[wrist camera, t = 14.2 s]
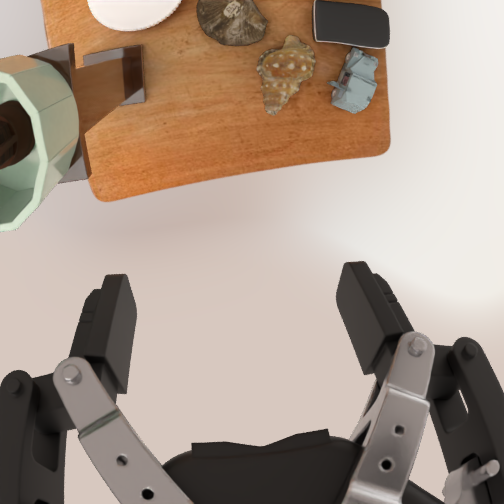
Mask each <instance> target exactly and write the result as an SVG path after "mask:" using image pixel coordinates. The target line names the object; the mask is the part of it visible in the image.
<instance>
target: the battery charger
mask: <svg viewBox="0 0 504 504" xmlns="http://www.w3.org/2000/svg"><path fill="white" fill-rule="evenodd" d="M312 33H313V39H314V40H315V41H317V42H332V43H340V44H346V45H352V46H355V47H362V48H371V49H382V48H385V47H387V45H388V44H389V39H390V27H389V17H388V15H387V13H386V12H385V11H384V10H382V9H380V8H377V7H372V6H367V5H361V4H353V3H342V2H332V1H323V0H315V1H314V3H313V6H312Z"/></svg>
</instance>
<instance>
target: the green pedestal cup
mask: <svg viewBox="0 0 504 504" xmlns="http://www.w3.org/2000/svg"><path fill="white" fill-rule="evenodd" d="M83 60H84V65H83V66H79V67H76V66H75V53H74V43H68V44H64V45H61V46H58V47H54V48H51V49H48V50H45V51H42V52H39V53H36V54H33V55H30V56H27V57H26V56H23V55H15V56H10V57H6V58H2V59H0V104H2V103H4V102H6V101H11V100H14V101H19V102H20V104H21V105H22V106H23V108H24V109H25V110H26V112H27V113H28V114H29V116H30V117H31V122H32V127H33V132H34V137H35V145H34V147H33V149H32V151H31V152H30V154H29V155H28V156H27V157H25V158H24V159H23V160H21V161H20V162H18V163H17V164H15V165H12V166H8V167H6V168H4V169H1V170H0V232H4V231H10V230H16V229H18V228H19V226H20V225H21V224H22V223H23V222H24V221H25V220H26V219H27V218H28V217H29V216H30V215H31V214H32V213H33V212H34V211H35V210H36V209H37V208H38V207H39V205H40V204H41V203H42V201H43V200H44V199H45V198H46V197H47V195H48V194H49V193H50V192H51V190H52V189H53V188H54V187H55V186H56V185H57V184H59V183H64V182H71V181H78V180H85V179H88V178H89V177H90V176H91V174H92V172H91V167H90V162H89V157H88V152H87V146H86V141H85V135H84V134H85V133H86V132H87V131H89V130H90V129H91V128H92V127H93V126H94V125H96V124H97V123H98V122H99V121H100V120H102V119H103V118H104V117H105V116H106V115H108V114H109V113H110V112H111V111H113V110H114V109H115V108H116V107H118V106H122V105H128V104H135V103H143V102H146V94H145V81H144V66H143V47H142V45H135V46H129V47H123V48H117V49H112V50H107V51H102V52H97V53H93V54H89V55H84V56H83Z"/></svg>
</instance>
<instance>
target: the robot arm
mask: <svg viewBox="0 0 504 504" xmlns="http://www.w3.org/2000/svg"><path fill="white" fill-rule="evenodd" d="M336 302H337V306H338V309H339V312H340V314H341V317H342V319H343V322H344V324H345V327H346V329H347V332H348V334H349V337H350V339H351V342H352V344H353V347H354V350H355V352H356V355H357V358H358V360H359V363H360V366H361V368H362V371H363V374H364V375H367V374H373V373H374V374H375V376H376V380H375V382H374V385H373V387H372V390H371V393H370V395H369V398H368V401H367V403H366V405H365V408H364V410H363V413H362V415H361V418H360V420H359V422H358V424H357V426H356V427H355V429H354V431H353V433H352V435H351V436H350V438H349V440H348V439H344V438H340V437H335V436H329V432H328V429H324V430H318V431H312V432H306V433H300V434H295V435H293V436H290V437H287V438H285V439H282V440H279V441H277V442H274V443H272V444H269V445H266V446H252V445H245V444H238V443H231V442H209V443H208V442H207V443H192V450H191V451H187V452H184V453H182V454H180V455H177V456H175V457H173V458H172V459H170V460H169V461H167V462H166V463H165V464H164V465H161V463H160V462H159V461H158V460H157V458H156V457H155V456H154V455H153V454H152V452H151V451H150V450H149V449H148V448H147V446H146V445H145V444H144V443H143V441H142V440H141V438H140V437H139V436H138V434H137V433H136V432H135V431H134V429H133V428H132V427H131V425H130V424H129V422H128V421H127V419H126V418H125V417H124V415H123V414H122V412H121V411H120V410H119V408H118V406H117V405H116V398H117V394H126V393H127V385H128V376H129V368H130V360H131V353H132V345H133V339H134V332H135V326H136V319H137V309H136V303H135V300H134V297H133V293H132V290H131V287H130V283H129V280H128V277H127V275H126V274H114V275H113V274H112V275H106V276H105V279H104V281H103V284H102V288H101V289H94V290H93V291H92V293H91V294H90V295H89V296H88V297H87V298H86V300H85V303H84V306H83V309H82V313H81V316H80V319H79V323H78V326H77V329H76V332H75V336H74V340H73V343H72V347H71V350H70V354H69V357H68V358H67V359H65V360H63V361H62V362H61V363H59V365H58V366H57V367H56V369H55V371H54V372H53V373H51V374H48V375H44V376H39V377H35V378H31V377H30V375H29V374H28V373H27V372H25V371H22V370H16V371H13V372H11V373H9V374H8V375H6V377H5V378H4V379H3V381H2V383H1V386H0V504H64V467H65V450H66V438H67V430H72V429H76V428H77V430H78V432H79V435H78V438H79V441H80V443H81V444H82V446H83V448H84V450H85V451H86V453H87V455H88V456H89V458H90V460H91V461H92V463H93V464H94V466H95V468H96V469H97V471H98V472H99V474H100V475H101V477H102V478H103V480H104V481H105V483H106V484H107V486H108V487H109V488H110V490H111V491H112V493H113V494H114V495H115V497H116V498H117V499H118V501H119V502H120V503H121V504H504V393H503V390H502V388H501V386H500V384H499V381H498V380H497V377H496V375H495V373H494V371H493V369H492V367H491V365H490V363H489V361H488V359H487V357H486V355H485V354H484V351H483V349H482V348H481V346H480V345H479V344H478V343H477V342H476V341H475V340H473V339H471V338H468V337H461V338H459V339H458V340H456V342H455V343H454V345H453V346H444V345H434V344H433V343H432V342H431V340H430V339H429V338H428V337H427V336H425V335H424V334H421V333H419V332H415V331H414V329H413V327H412V325H411V324H410V322H409V320H408V318H407V316H406V314H405V313H404V311H403V309H402V307H401V305H400V304H399V302H397V298H396V297H395V295H394V294H393V291H392V290H391V288H390V286H389V285H388V283H387V282H386V281H385V280H384V279H383V278H382V277H381V276H380V275H378V274H377V273H376V274H372V272H371V270H370V268H369V267H368V265H367V263H366V262H364V261H358V262H346V263H345V264H344V266H343V269H342V273H341V277H340V281H339V284H338V289H337V292H336ZM459 390H461V393H462V395H463V397H464V400H465V402H466V405H467V408H468V413H467V411H466V408H465V406H464V403H463V401H462V398H461V396H460V393H459ZM429 412H430V415H431V418H432V421H433V424H434V427H435V430H436V433H437V436H438V439H439V442H440V446H441V449H442V452H443V455H444V459H445V462H446V466H447V469H448V472H449V475H448V477H447V479H446V481H445V487H444V488H443V490H442V493H443V495H444V496H445V499H444V502H442V501H441V500H439V499H438V498H436V497H435V496H433V495H431V494H430V493H428V492H427V491H425V490H424V489H422V488H421V487H419V486H418V485H416V484H415V483H413V482H412V481H410V480H409V476H410V473H411V470H412V467H413V464H414V461H415V458H416V455H417V452H418V449H419V445H420V442H421V439H422V435H423V432H424V428H425V424H426V421H427V416H428V413H429Z"/></svg>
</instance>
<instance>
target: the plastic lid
mask: <svg viewBox="0 0 504 504" xmlns="http://www.w3.org/2000/svg"><path fill="white" fill-rule="evenodd" d="M87 2H89V4H88V6H90V7H89V9H91V12H92V15H94V18H97V21H99V23H102V25H106V27H109V28H110V29H113V30H118V31H128V32H129V31H138V30H142V29H147V28H151V26H155V24H159V22H162V21H163V20H164V19H167V18H166V17H169V16H170V14H173V11H175V10H176V8H177V7H179V4H181V0H87Z"/></svg>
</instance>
